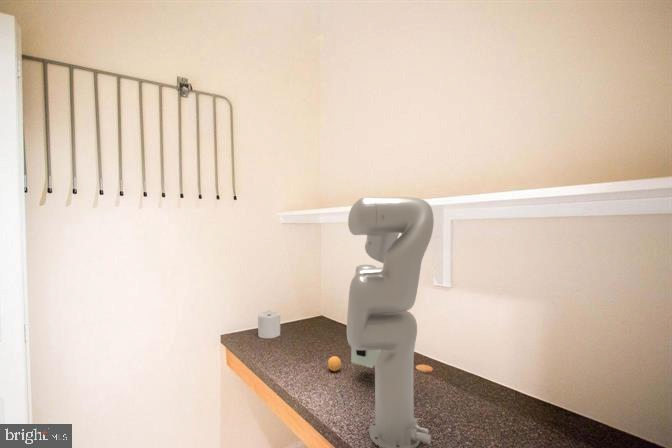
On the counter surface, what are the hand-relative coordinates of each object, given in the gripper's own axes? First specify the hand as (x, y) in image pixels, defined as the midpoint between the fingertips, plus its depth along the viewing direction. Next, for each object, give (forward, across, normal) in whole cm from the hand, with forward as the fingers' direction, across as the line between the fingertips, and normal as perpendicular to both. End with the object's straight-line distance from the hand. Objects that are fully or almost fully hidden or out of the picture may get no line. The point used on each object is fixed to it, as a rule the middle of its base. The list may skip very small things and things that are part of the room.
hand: (366, 350), depth 113 cm
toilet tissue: (+11, -16, -62) cm, 65 cm away
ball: (+7, +1, -13) cm, 15 cm away
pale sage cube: (+4, 0, 0) cm, 4 cm away
